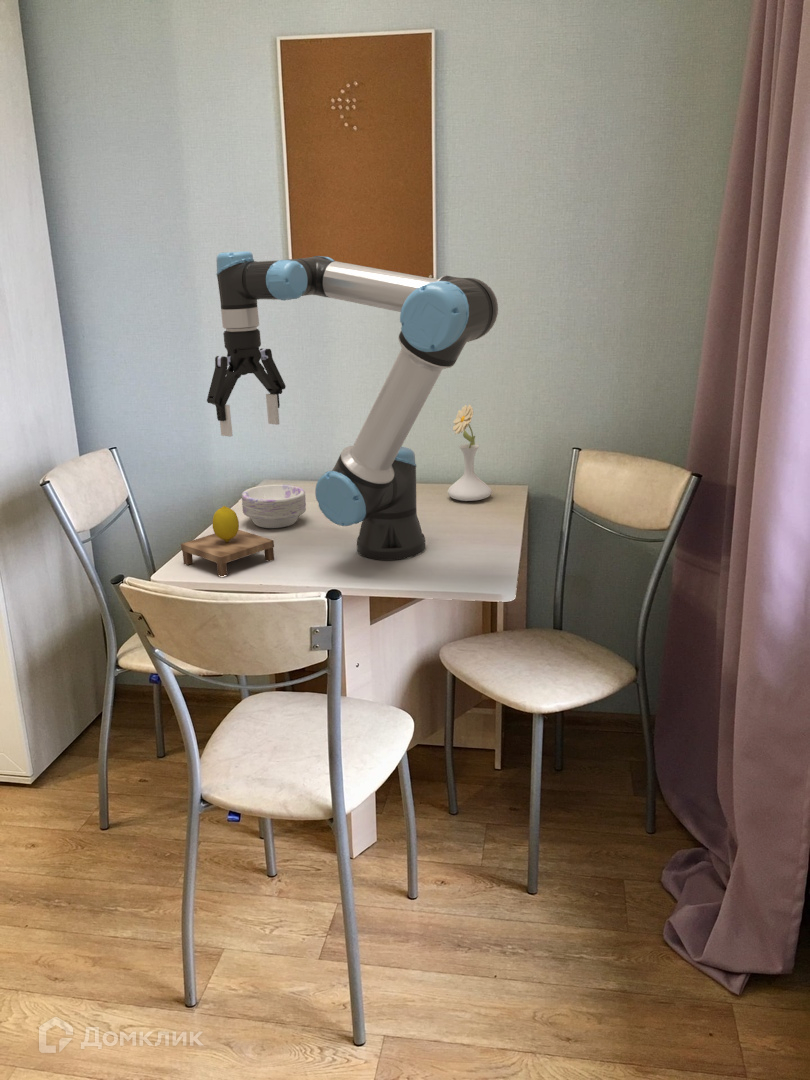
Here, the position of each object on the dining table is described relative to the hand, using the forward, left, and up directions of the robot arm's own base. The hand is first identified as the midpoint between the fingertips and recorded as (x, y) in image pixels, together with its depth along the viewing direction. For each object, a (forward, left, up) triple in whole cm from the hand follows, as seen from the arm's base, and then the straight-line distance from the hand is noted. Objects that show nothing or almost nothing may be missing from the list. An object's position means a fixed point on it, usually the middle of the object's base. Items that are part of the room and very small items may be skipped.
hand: (251, 429), depth 210 cm
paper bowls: (+13, -15, -27) cm, 34 cm away
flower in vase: (-12, -59, -27) cm, 66 cm away
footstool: (-1, +2, -25) cm, 25 cm away
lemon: (-1, +9, -23) cm, 25 cm away
